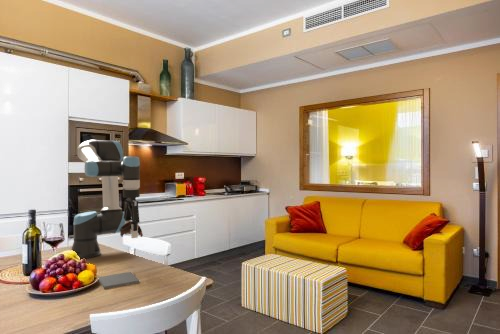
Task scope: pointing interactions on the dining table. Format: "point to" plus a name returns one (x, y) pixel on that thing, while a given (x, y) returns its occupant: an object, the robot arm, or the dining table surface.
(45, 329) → the dining table surface
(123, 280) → the slate mat
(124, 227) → the brown arch piece
